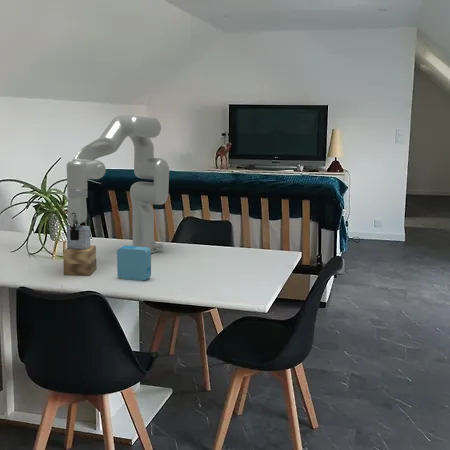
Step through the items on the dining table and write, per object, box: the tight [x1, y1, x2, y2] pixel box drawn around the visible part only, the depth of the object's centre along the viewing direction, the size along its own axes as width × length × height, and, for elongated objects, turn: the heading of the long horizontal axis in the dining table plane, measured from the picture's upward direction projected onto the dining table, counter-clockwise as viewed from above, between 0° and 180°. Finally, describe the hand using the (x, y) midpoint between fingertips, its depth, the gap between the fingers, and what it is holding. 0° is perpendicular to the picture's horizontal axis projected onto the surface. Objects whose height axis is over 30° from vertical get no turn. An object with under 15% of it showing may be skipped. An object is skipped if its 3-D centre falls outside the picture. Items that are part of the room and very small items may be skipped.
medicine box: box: [66, 225, 92, 250], centre depth 230 cm, size 8×4×9 cm, turn 77°
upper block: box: [62, 245, 97, 264], centre depth 231 cm, size 10×10×5 cm
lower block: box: [63, 258, 97, 277], centre depth 232 cm, size 10×10×5 cm
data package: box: [116, 245, 152, 281], centre depth 224 cm, size 12×4×12 cm, turn 75°
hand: (78, 237), depth 230 cm, fingers open, 9 cm apart
